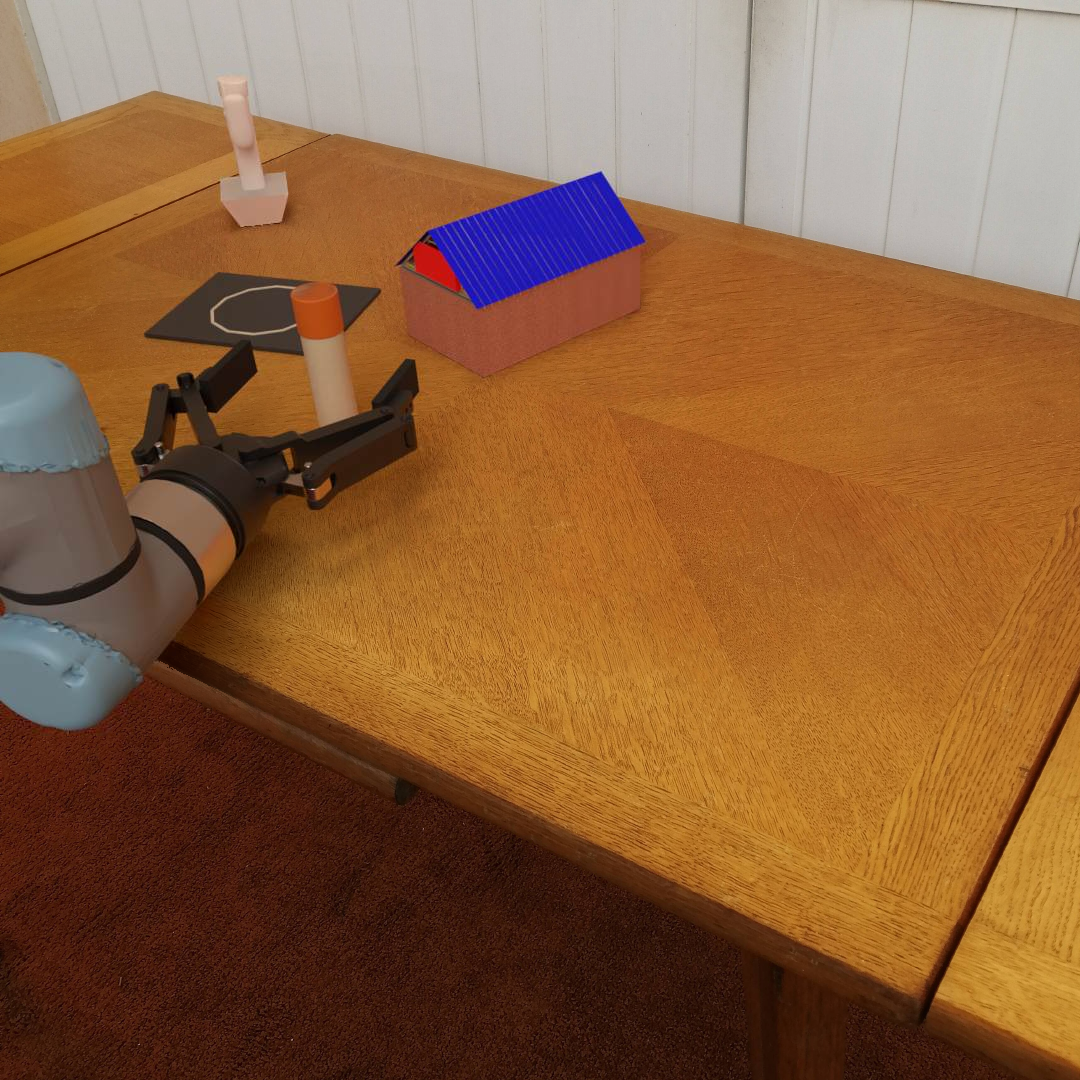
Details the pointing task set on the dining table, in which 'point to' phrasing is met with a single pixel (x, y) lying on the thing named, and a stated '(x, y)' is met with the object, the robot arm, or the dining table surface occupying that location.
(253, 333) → the slate board
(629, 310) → the house
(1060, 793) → the dining table surface
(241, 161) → the figurine
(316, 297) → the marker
